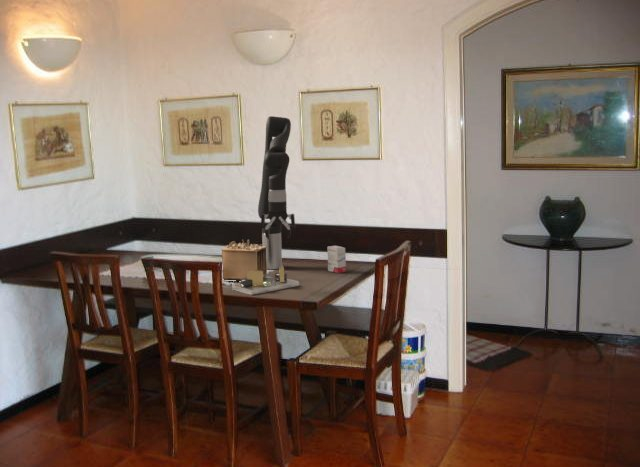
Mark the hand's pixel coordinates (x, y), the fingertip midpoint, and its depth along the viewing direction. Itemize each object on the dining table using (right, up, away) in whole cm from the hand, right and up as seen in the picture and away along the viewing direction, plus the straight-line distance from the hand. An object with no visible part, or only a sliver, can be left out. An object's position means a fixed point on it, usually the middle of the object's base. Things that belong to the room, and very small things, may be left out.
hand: (278, 238), depth 311 cm
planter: (-16, -19, +19) cm, 31 cm away
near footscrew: (-11, -20, -4) cm, 23 cm away
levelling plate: (-5, -21, +1) cm, 22 cm away
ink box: (+26, -16, +34) cm, 46 cm away
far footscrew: (+1, -18, +6) cm, 19 cm away
